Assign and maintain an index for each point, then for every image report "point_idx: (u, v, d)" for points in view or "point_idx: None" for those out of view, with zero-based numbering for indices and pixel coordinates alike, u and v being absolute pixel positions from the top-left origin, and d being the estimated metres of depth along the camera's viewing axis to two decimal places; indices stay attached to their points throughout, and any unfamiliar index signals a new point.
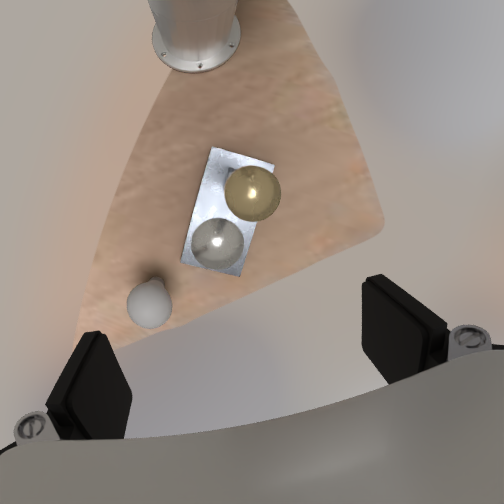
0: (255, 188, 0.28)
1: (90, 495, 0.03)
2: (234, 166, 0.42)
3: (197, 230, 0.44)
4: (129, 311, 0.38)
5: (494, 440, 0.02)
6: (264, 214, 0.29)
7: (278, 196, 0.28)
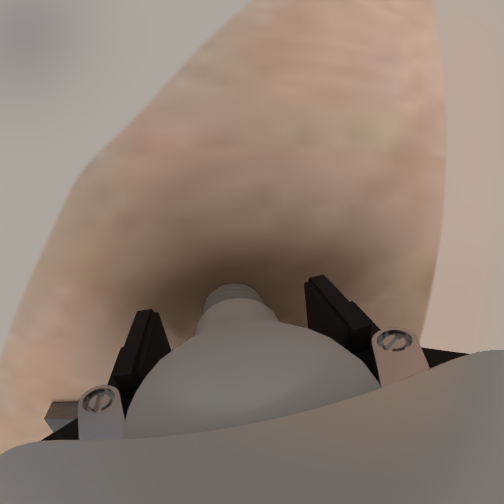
0: None
1: (90, 495, 0.03)
2: None
3: None
4: None
5: (494, 440, 0.02)
6: None
7: None
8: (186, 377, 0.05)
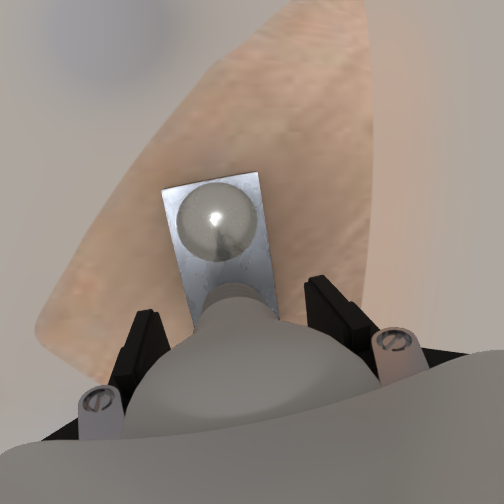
0: None
1: (90, 495, 0.03)
2: None
3: (253, 229, 0.30)
4: None
5: (494, 440, 0.02)
6: None
7: None
8: (185, 375, 0.05)
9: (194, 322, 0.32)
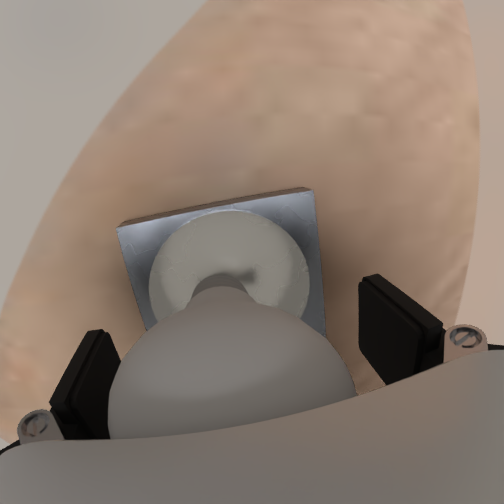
0: None
1: (90, 495, 0.03)
2: None
3: (300, 302, 0.15)
4: None
5: (494, 440, 0.02)
6: None
7: None
8: (163, 342, 0.06)
9: None
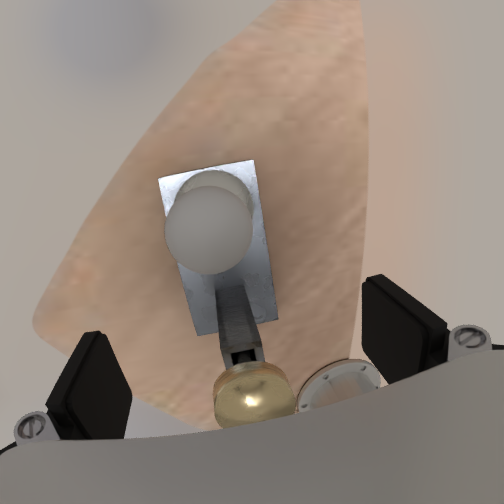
0: (256, 417, 0.18)
1: (90, 495, 0.03)
2: None
3: None
4: (242, 222, 0.20)
5: (494, 440, 0.02)
6: (226, 400, 0.17)
7: (221, 422, 0.18)
8: (187, 192, 0.21)
9: (191, 311, 0.32)
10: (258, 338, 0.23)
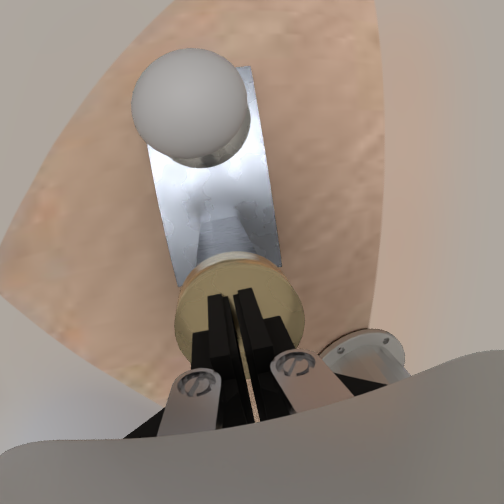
0: None
1: (90, 495, 0.03)
2: None
3: (245, 129, 0.23)
4: (233, 78, 0.13)
5: (494, 440, 0.02)
6: (192, 302, 0.11)
7: (186, 349, 0.12)
8: None
9: (171, 251, 0.26)
10: (253, 252, 0.16)
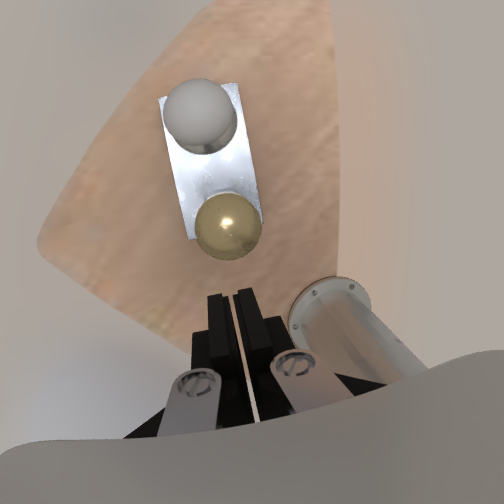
0: (229, 235, 0.24)
1: (90, 495, 0.03)
2: None
3: (234, 126, 0.34)
4: (224, 97, 0.24)
5: (494, 440, 0.02)
6: (204, 213, 0.23)
7: (200, 240, 0.24)
8: (182, 83, 0.24)
9: (183, 213, 0.36)
10: None
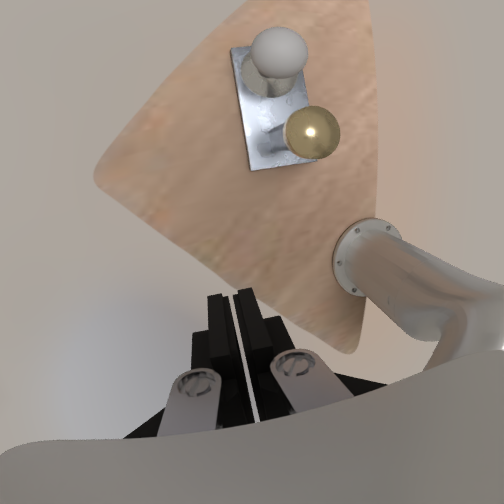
0: (315, 138, 0.27)
1: (90, 495, 0.03)
2: (289, 151, 0.40)
3: (295, 77, 0.37)
4: (304, 42, 0.27)
5: (494, 440, 0.02)
6: (296, 118, 0.26)
7: (292, 139, 0.27)
8: None
9: (248, 146, 0.39)
10: None
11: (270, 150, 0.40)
